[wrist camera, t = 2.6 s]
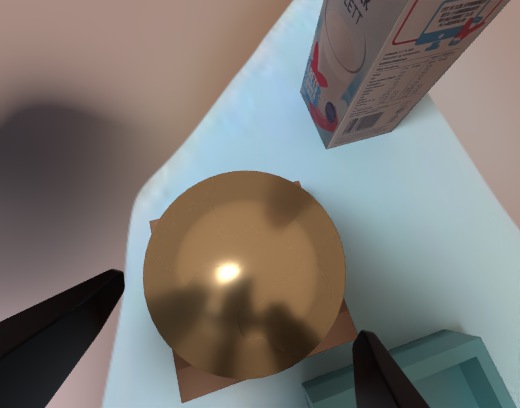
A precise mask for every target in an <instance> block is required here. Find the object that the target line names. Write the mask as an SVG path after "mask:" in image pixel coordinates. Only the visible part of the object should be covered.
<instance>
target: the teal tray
mask: <svg viewBox="0 0 520 408" xmlns="http://www.w3.org/2000/svg"><path fill="white" fill-rule="evenodd" d="M388 352H389V353H390V355H391V356H392V357H393V359H394V360H395V361H396V363H397V364H398V365H399V367H400V368H401V369H402V371H403V372H404V373H405V375H406V376H407V377H408V379H409V380H410V381H411V383H412V384H413V385H414V387H415V388H416V389H417V391H418V392H419V393H420V395H421V396H422V397H423V398H424V400H425V401H426V402H427V404H428V405H429V406H430V408H517V407H516V406H515V404H514V402H513V400H512V398H511V396H510V394H509V392H508V390H507V388H506V386H505V384H504V382H503V380H502V378H501V376H500V374H499V372H498V370H497V369H496V367H495V365H494V363H493V361H492V359H491V357H490V355H489V353H488V351H487V349H486V347H485V345H484V343H483V341H482V339H481V337H476V336H472V335H467V334H463V333H458V332H453V331H449V330H442V331H439V332H437V333H434V334H431V335H429V336H426V337H424V338H421V339H418V340H416V341H413V342H411V343H408V344H405V345H403V346H400V347H397V348H395V349H392V350H390V351H388ZM302 386H303V389H304V393H305V396H306V399H307V402H308V406H309V408H357V405H356V398H355V386H354V368H353V365H350V366H348V367H345V368H343V369H340V370H337V371H335V372H332V373H330V374H327V375H324V376H322V377H319V378H317V379H314V380H311V381H309V382H306V383H303V384H302Z"/></svg>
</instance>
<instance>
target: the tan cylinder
mask: <svg viewBox="0 0 520 408" xmlns="http://www.w3.org/2000/svg"><path fill="white" fill-rule="evenodd" d="M345 281H346V266H345V256H344V251H343V247H342V243H341V240H340V237H339V234H338V232H337V230H336V228H335V226H334V224H333V222H332V220H331V219H330V217H329V215H328V214H327V212H326V211H325V210H324V208H323V207H322V206H321V205H320V204H319V202H318V201H317V200H315V199H314V198H313V197H312V196H311V195H310V194H309V193H308V192H306V191H305V190H304V189H302V188H301V187H300V186H298V185H296V184H294V183H293V182H291V181H289V180H287V179H284V178H282V177H279V176H276V175H273V174H269V173H264V172H258V171H233V172H228V173H223V174H219V175H216V176H213V177H210V178H208V179H205V180H203V181H201V182H199V183H197V184H196V185H194V186H192V187H191V188H189V189H188V190H186V191H185V192H184V193H183V194H181V195H180V196H179V197H178V198H177V199H176V200H175V201H174V202H173V203H172V204H171V205H170V206H169V207H168V208H167V210H166V211H165V212H164V214H163V215H162V216H161V218H160V220H159V221H158V223H157V225H156V226H155V228H154V231H153V233H152V235H151V237H150V240H149V243H148V247H147V250H146V254H145V260H144V268H143V284H144V294H145V299H146V303H147V307H148V310H149V313H150V315H151V318H152V321H153V322H154V324H155V326H156V328H157V330H158V332H159V333H160V335H161V336H162V337H163V339H164V340H165V341H166V343H167V344H168V345H169V346H170V347H171V348H172V349H173V350H174V351H175V352H176V353H177V354H178V355H179V356H180V357H181V358H183V359H184V360H186V361H187V362H188V363H190V364H191V365H193V366H195V367H197V368H199V369H201V370H202V371H205V372H207V373H210V374H213V375H216V376H220V377H226V378H231V379H253V378H261V377H266V376H269V375H273V374H276V373H279V372H281V371H283V370H285V369H288V368H290V367H292V366H293V365H295V364H296V363H298V362H299V361H301V360H303V359H304V358H305V357H306V356H307V355H309V354H310V353H311V352H312V351H313V350H314V349H315V348H316V347H317V346H318V345H319V344H320V342H321V341H322V340H323V339H324V338H325V336H326V335H327V333H328V332H329V330H330V329H331V327H332V325H333V323H334V321H335V319H336V317H337V315H338V313H339V310H340V306H341V303H342V300H343V295H344V290H345Z"/></svg>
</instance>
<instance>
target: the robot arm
mask: <svg viewBox="0 0 520 408" xmlns="http://www.w3.org/2000/svg"><path fill="white" fill-rule="evenodd" d="M124 289H125V283H124V273H123V272H122V271H120V270H116V269H110V270H108V271H106V272H103V273H101V274H99V275H97V276H95V277H93V278H91V279H89V280H87V281H85V282H83V283H80V284H78V285H76V286H74V287H72V288H70V289H68V290H66V291H64V292H62V293H59V294H58V295H55V296H53V297H51V298H49V299H47V300H45V301H43V302H41V303H39V304H36V305H34V306H32V307H30V308H28V309H26V310H24V311H22V312H20V313H18V314H16V315H13V316H11V317H9V318H7V319H5V320H3V321H1V322H0V408H45V407H46V405H47V404H48V403H49V402H50V400H51V399H52V397H53V396H54V395H55V393H56V392H57V390H58V389H59V388H60V386H61V385H62V384H63V382H64V381H65V379H66V378H67V377H68V375H69V374H70V373H71V371H72V370H73V368H74V367H75V366H76V364H77V363H78V361H79V360H80V359H81V357H82V356H83V355H84V353H85V352H86V351H87V349H88V348H89V346H90V345H91V344H92V342H93V341H94V340H95V338H96V337H97V335H98V334H99V332H100V331H101V329H102V328H103V326H104V324H105V323H106V321H107V319H108V318H109V316H110V314H111V312H112V311H113V309H114V307H115V306H116V304H117V302H118V301H119V299H120V297H121V295H122V294H123V292H124ZM352 351H353V368H354V386H355V398H356V405H357V408H430V406H429V405H428V404H427V402H426V401H425V400H424V398H423V397H422V396H421V395H420V393H419V392H418V391H417V389H416V388H415V387H414V385H413V384H412V383H411V381H410V380H409V379H408V377H407V376H406V375H405V373H404V372H403V371H402V369H401V368H400V367H399V365H398V364H397V363H396V361H395V360H394V359H393V357H392V356H391V355H390V353H389V352H388V351H387V349H386V348H385V347H384V345H383V344H382V343H381V341H380V340H379V339H378V337H377V336H376V335H375V334H374V333H373V332H370V331H366V330H361V331H360V333H359V334H358V336H357V338H356V340H355V341H354V343H353V349H352Z"/></svg>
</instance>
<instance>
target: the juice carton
mask: <svg viewBox="0 0 520 408" xmlns="http://www.w3.org/2000/svg"><path fill="white" fill-rule="evenodd" d="M509 1H510V0H323V4H322V8H321V12H320V16H319V20H318V23H317V27H316V31H315V35H314V39H313V43H312V47H311V51H310V55H309V59H308V63H307V66H306V70H305V74H304V78H303V82H302V86H301V90H300V92H301V94H302V96H303V99H304V101H305V103H306V105H307V108H308V110H309V112H310V114H311V117H312V119H313V121H314V123H315V126H316V128H317V130H318V132H319V135H320V137H321V139H322V141H323V144H324V146H325V148H326V149H329V148H333V147H336V146H340V145H344V144H348V143H351V142H355V141H359V140H362V139H366V138H370V137H374V136H377V135H381V134H385V133H388V132H392V130H393V129H394V128H395V127H396V126H397V125H398V124H399V123H400V122H401V121H402V119H403V118H404V117H405V116H406V115H407V114H408V113H409V112H410V111H411V110H412V108H413V107H414V106H415V105H416V104H417V103H418V102H419V101H420V100H421V98H422V97H423V96H424V95H425V94H426V93H427V92H428V91H429V90H430V89H431V87H432V86H433V85H434V84H435V83H436V82H437V81H438V80H439V79H440V77H441V76H442V75H443V74H444V73H445V72H446V71H447V70H448V69H449V68H450V66H451V65H452V64H453V63H454V62H455V61H456V60H457V59H458V58H459V56H460V55H461V54H462V53H463V52H464V51H465V50H466V49H467V48H468V47H469V45H470V44H471V43H472V42H473V41H474V40H475V39H476V37H478V35H479V34H480V33H481V32H482V31H483V30H484V29H485V28H486V27H487V26H488V24H489V23H490V22H491V21H492V20H493V19H494V18H495V17H496V16H497V14H498V13H499V12H500V11H501V10H502V9H503V8H504V7H505V6H506V5H507V3H508V2H509Z"/></svg>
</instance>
